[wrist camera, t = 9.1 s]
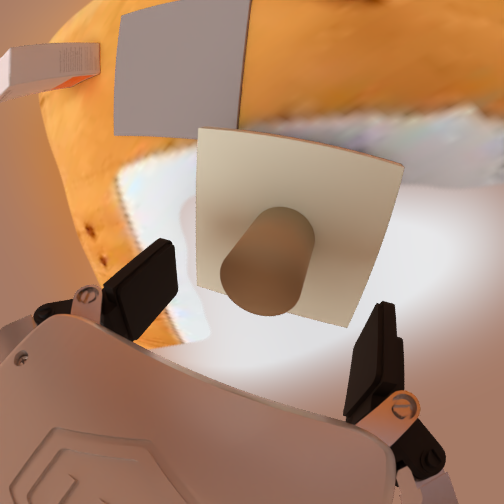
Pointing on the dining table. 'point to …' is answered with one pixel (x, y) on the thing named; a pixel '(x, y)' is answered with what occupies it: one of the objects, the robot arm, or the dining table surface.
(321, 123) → the dining table surface
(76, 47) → the skincare box
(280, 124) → the dining table surface
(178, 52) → the mat
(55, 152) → the dining table surface
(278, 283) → the lid
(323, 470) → the robot arm
